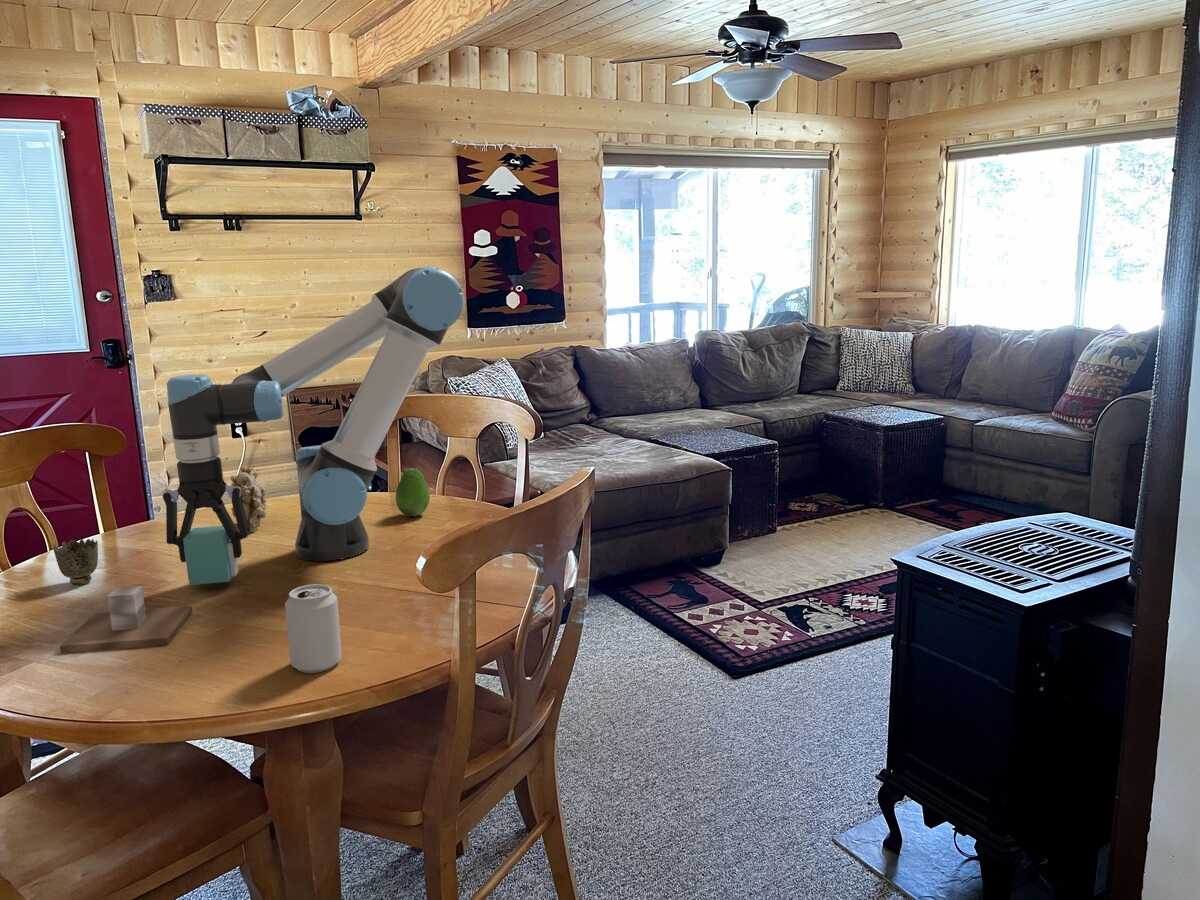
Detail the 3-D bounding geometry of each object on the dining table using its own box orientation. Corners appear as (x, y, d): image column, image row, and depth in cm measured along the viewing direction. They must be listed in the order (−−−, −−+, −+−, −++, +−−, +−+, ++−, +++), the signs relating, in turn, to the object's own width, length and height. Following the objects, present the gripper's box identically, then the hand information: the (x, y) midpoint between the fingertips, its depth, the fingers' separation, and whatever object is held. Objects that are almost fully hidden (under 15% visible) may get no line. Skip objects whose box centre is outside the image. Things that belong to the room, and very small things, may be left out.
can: (297, 655, 137) (291, 582, 135) (346, 652, 138) (340, 580, 135) (285, 676, 130) (277, 600, 127) (336, 674, 130) (330, 598, 128)
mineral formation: (265, 518, 214) (259, 458, 211) (276, 531, 203) (271, 468, 200) (230, 523, 210) (224, 462, 207) (240, 537, 199) (233, 473, 195)
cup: (82, 591, 166) (77, 551, 164) (49, 589, 168) (43, 549, 166) (111, 577, 173) (106, 539, 172) (79, 575, 175) (74, 537, 173)
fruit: (403, 511, 218) (400, 464, 216) (434, 511, 217) (431, 464, 215) (392, 520, 210) (389, 471, 208) (424, 520, 210) (422, 471, 207)
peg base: (192, 612, 155) (188, 573, 154) (167, 644, 142) (162, 602, 140) (95, 619, 153) (90, 579, 151) (60, 653, 139) (54, 610, 138)
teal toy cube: (237, 569, 171) (232, 525, 169) (228, 581, 165) (222, 535, 163) (199, 572, 170) (193, 527, 168) (189, 584, 164) (183, 538, 162)
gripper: (134, 466, 157) (152, 587, 162) (250, 459, 160) (264, 577, 165) (148, 457, 165) (164, 573, 169) (258, 450, 168) (272, 564, 173)
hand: (213, 575), depth 167 cm, fingers closed on teal toy cube, 7 cm apart
